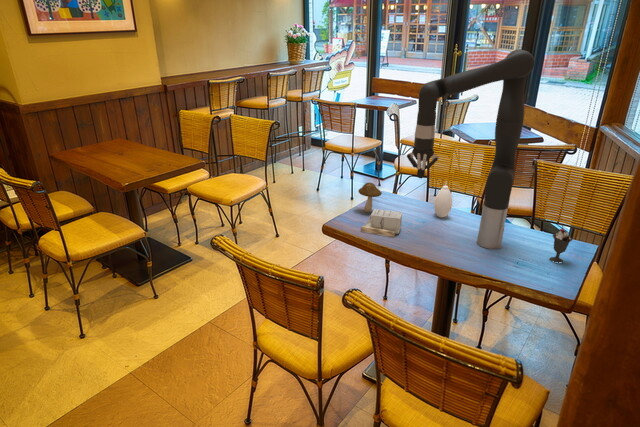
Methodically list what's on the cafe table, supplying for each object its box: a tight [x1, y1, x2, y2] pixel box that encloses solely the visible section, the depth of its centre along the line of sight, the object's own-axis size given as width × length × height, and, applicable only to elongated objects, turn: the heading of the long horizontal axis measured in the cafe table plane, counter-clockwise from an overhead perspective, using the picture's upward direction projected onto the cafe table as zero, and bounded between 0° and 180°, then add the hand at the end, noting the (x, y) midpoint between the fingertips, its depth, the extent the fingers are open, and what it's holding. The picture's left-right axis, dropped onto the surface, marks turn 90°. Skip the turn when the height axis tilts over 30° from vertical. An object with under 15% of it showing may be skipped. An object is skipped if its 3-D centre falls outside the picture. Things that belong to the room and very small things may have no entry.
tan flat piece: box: [360, 214, 403, 238], centre depth 191 cm, size 14×14×2 cm
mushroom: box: [358, 182, 383, 213], centre depth 204 cm, size 9×11×15 cm
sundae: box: [549, 223, 574, 263], centre depth 163 cm, size 7×7×15 cm
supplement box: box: [370, 208, 403, 234], centre depth 188 cm, size 7×7×13 cm
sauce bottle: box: [433, 180, 453, 219], centre depth 199 cm, size 8×8×18 cm
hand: (420, 177), depth 175 cm, fingers closed
